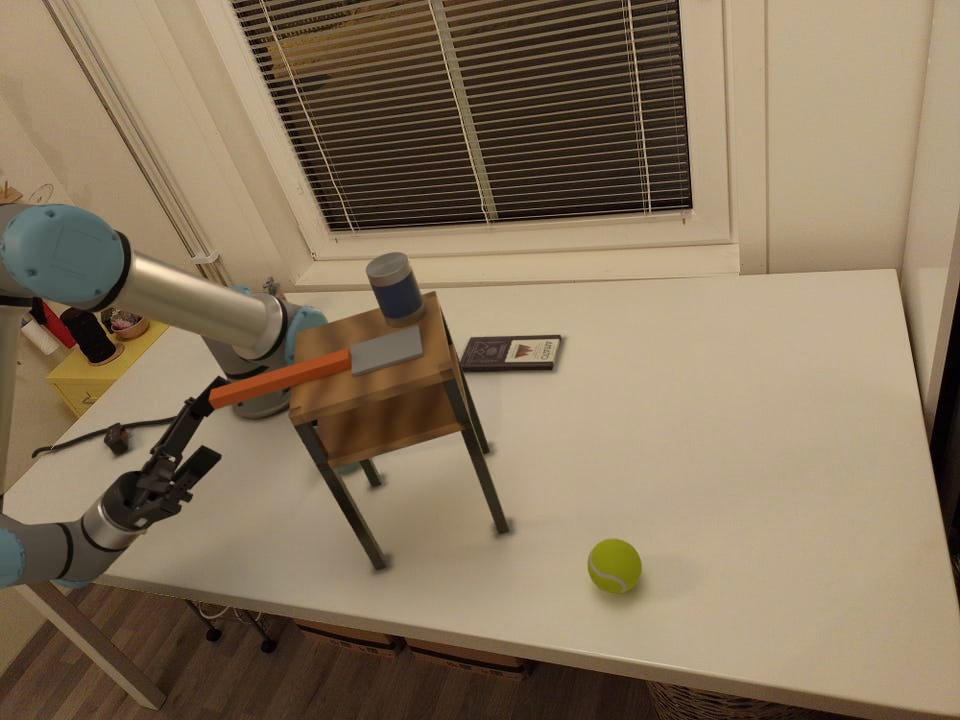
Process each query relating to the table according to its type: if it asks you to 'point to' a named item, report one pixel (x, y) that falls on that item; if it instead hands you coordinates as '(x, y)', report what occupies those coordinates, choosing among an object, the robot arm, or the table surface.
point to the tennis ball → (614, 566)
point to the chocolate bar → (511, 353)
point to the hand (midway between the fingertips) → (220, 414)
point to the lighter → (273, 289)
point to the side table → (385, 408)
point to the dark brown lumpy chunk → (116, 438)
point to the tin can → (396, 289)
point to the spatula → (326, 366)
